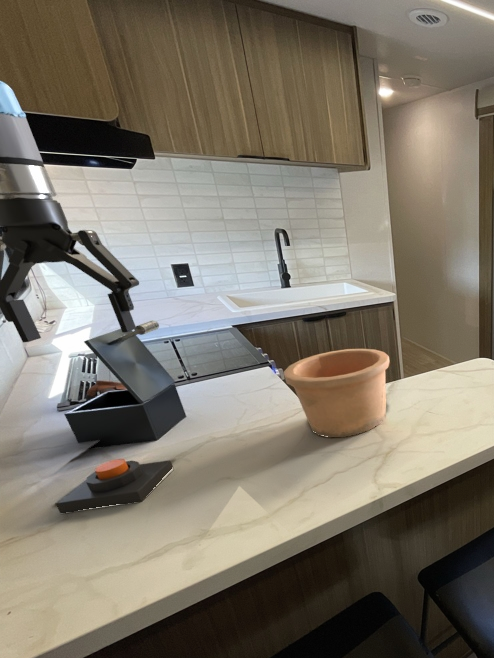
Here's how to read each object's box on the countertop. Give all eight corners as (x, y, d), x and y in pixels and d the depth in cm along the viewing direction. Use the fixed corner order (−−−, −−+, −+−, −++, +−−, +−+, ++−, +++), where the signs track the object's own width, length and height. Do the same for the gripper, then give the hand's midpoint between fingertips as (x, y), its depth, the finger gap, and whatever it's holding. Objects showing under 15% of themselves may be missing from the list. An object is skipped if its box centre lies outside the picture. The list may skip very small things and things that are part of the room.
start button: (92, 481, 69) (88, 473, 68) (109, 468, 72) (105, 460, 72) (119, 478, 69) (115, 469, 69) (134, 465, 73) (130, 457, 72)
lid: (83, 341, 80) (124, 322, 80) (125, 327, 92) (160, 311, 92) (140, 403, 86) (178, 386, 86) (172, 383, 98) (206, 367, 98)
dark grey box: (81, 450, 87) (63, 414, 84) (120, 424, 99) (106, 391, 95) (157, 440, 89) (142, 405, 86) (186, 416, 101) (174, 384, 98)
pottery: (363, 394, 108) (354, 343, 103) (416, 415, 95) (408, 357, 90) (282, 426, 93) (266, 368, 88) (330, 455, 80) (315, 389, 74)
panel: (60, 514, 66) (49, 494, 65) (103, 479, 76) (94, 461, 74) (142, 502, 68) (133, 482, 67) (174, 469, 78) (167, 451, 76)
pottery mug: (83, 409, 110) (90, 379, 111) (129, 413, 116) (136, 385, 118) (81, 410, 101) (89, 378, 103) (131, 414, 108) (138, 384, 109)
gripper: (-115, 200, 54) (-33, 350, 61) (106, 193, 60) (156, 331, 68) (-60, 203, 61) (8, 338, 68) (134, 197, 67) (177, 322, 74)
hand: (82, 335), depth 68 cm, fingers open, 13 cm apart
